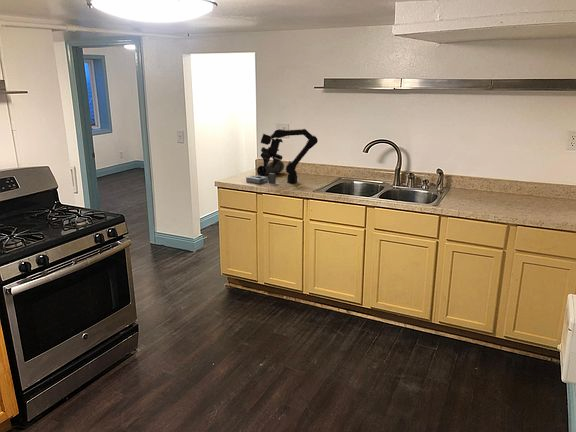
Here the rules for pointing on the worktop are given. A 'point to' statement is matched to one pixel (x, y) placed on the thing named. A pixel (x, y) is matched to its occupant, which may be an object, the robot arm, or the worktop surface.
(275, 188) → the worktop surface
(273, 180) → the plug
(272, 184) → the mat
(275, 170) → the muzzle brake
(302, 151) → the robot arm
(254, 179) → the outlet block
